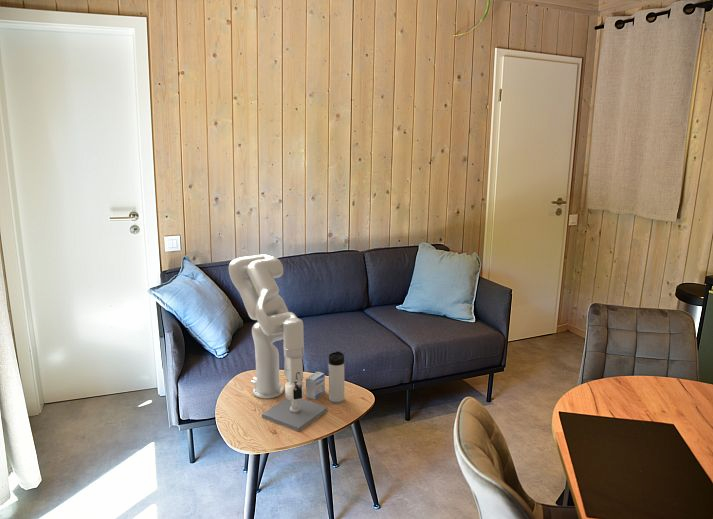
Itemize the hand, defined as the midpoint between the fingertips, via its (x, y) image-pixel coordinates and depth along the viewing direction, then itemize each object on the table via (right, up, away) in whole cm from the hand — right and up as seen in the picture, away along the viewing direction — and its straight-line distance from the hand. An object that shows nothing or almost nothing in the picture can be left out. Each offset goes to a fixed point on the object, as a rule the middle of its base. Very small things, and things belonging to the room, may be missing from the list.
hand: (294, 393), depth 208 cm
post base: (0, -8, +2) cm, 9 cm away
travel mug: (+16, -6, +13) cm, 21 cm away
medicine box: (+7, -5, +17) cm, 19 cm away
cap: (0, -1, 0) cm, 1 cm away
